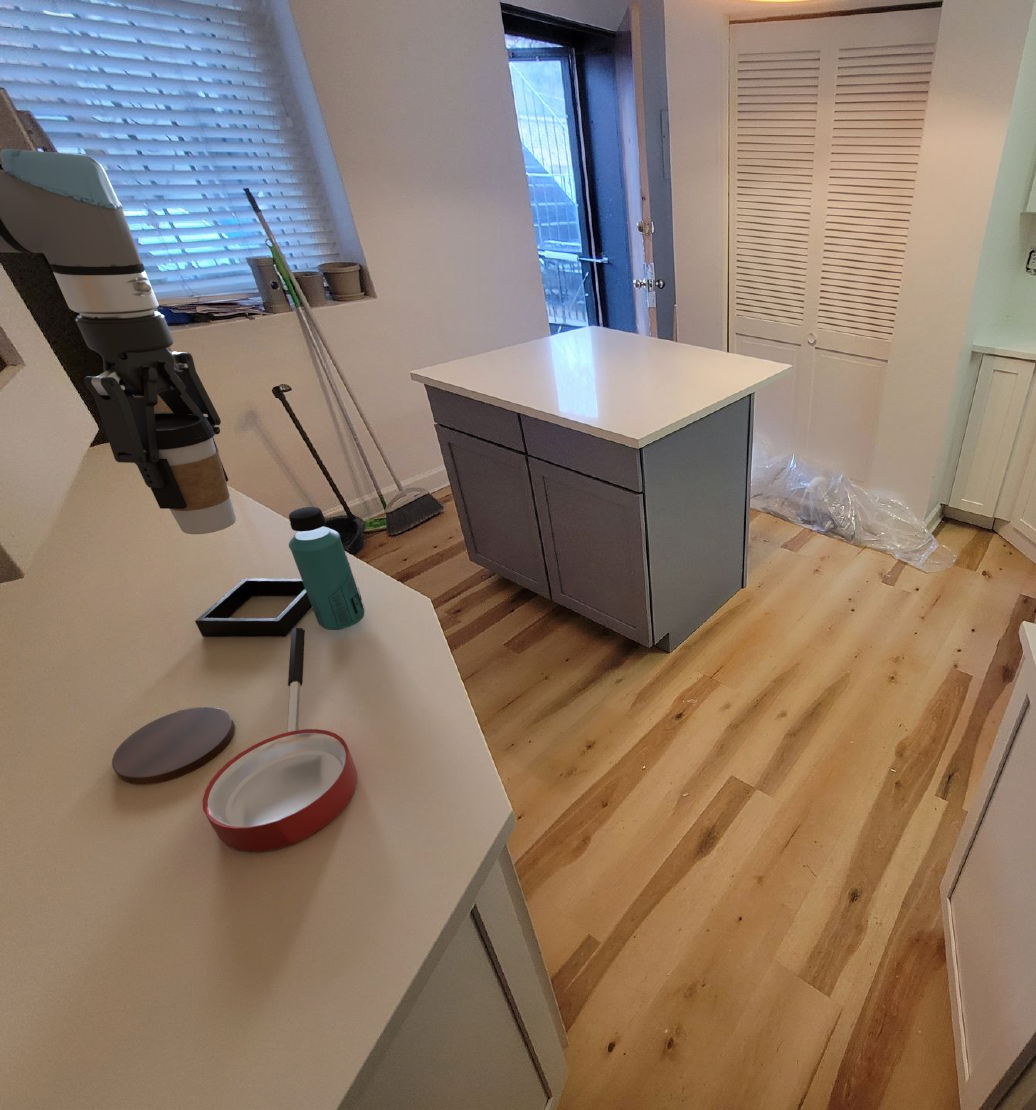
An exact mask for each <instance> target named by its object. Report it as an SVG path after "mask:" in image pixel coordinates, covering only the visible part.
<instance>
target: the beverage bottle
mask: <svg viewBox="0 0 1036 1110" xmlns="http://www.w3.org/2000/svg"><path fill="white" fill-rule="evenodd" d="M288 519H289V523H290V529H291V530H293V531H294V532H296V533H295V534H294V535H293V536H292V537H291V539H289V542H288V549H290V551H291V555H292V557H293V559H294V563H295V565H296V567H297V570H298V572H299V575H300V579H301V580H302V581H303V584H304V587H305V589H304V590H306V593H307V595H308V601H309V600H310V601H309V602H310V603H311V607H312V608H311V609H310V610H312V611H313V616H314V617H315V619H316V622H317V624H318V625H320V627H321V628H323V629H325V630H328V631H336V630H337V631H339V630H343V629H347V628H350V627H352V626H354V625H357V624H358V623H360V621H362V620H363V619H364V617H365V609H366V607H365V605H364V603H363V599H362V595H361V592H360V588H359V587H358V585H357V584H358V583H357V581H356V578H355V576H354V574H353V571H352V568H351V564H350V561H349V559H348V555H347V553H346V550H345V548H344V545H343V542H342V540H341V534H340V533H339V532H338V531H336V530H335V529H333V528H330V527H327V526H325V525H326V524H327V520H326V517H325V515H324V514H323V510H322V509H321V508H320V507H316V506H305V507H299V508H297V509H295V510H292V511H291V512H290V513H289V514H288ZM302 581H301V582H302Z"/></svg>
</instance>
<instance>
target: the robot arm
mask: <svg viewBox="0 0 1036 1110" xmlns="http://www.w3.org/2000/svg"><path fill="white" fill-rule="evenodd" d="M0 161H1V163H2V164H1V168H2V169H0V253H19V254H20V253H21V254H23V253H24V254H43V256H44V257H45V258H46V260H47V262H48V264H49V266H50V269H51V271H52V273H53V275H54V277H55V280H56V282H57V284H58V286H59V289H60V291H61V293H62V295H63V297H64V300H65V302H66V304H67V306H68V309H69V310H71V311H73V312H74V313H79V314H78V315H77V316H76V318H75V319H74V320H75V323H76V325H77V327H78V329H79V332H80V333H81V336H82V338H83V340H84V342H85V344H86V346H87V347H88V349H90V350H92V352H93V351H94V352H95V353H97V354H99V355H100V357H101V360H102V361H103V362H102V363H103V372H102V373H100V374H99V375H97V376H85V377H84V378H83V383H84V385H85V386H86V388H87V389H88V391H89V392H90V394H91V395H92V397H93V398H94V401H95V404H96V407H97V411H98V413H99V416H100V419H101V422H102V425H103V428H104V431H105V434H106V437H107V440H108V443H109V446H110V449H111V452H112V455H113V458H114V460H115V462H117V463H120V464H121V463H123V464H124V463H125V464H135V466H136V467H137V468H138V470H139V473H140V475H141V477H142V479H143V481H144V484H145V485H146V486H147V488H150V490H151V492H152V494H153V497H154V498H155V501H156V503H157V505H158V507H159V509H163V510H164V509H165V510H167V509H168V510H170V509H184V508H186V507H187V504H186V502H185V500H184V497H183V495H182V493H181V491H180V488H179V486H178V484H177V481H176V479H175V477H174V475H173V472H172V470H171V468H170V466H169V463H168V461H167V459H159V450H158V441H157V433H156V422H155V413H156V412H155V406H156V405H158V403H159V400H158V396H159V397H160V399H161V400H162V401H163V402H164V404H165V405H166V406H167V407H168V409H169V410H170V412H173V413H182V414H199V415H203V416H204V417H205V418H206V419H207V421H208V423H209V424H210V426H212V427H213V431H214V432H215V435H219V434H220V433H221V429H220V425H221V423H222V422H221V421H222V420H221V418H220V416H219V414H218V411H217V410H216V408H215V405H214V404H213V402H212V399H211V398H210V396H209V394H208V392H207V390H206V388H205V386H204V384H203V382H202V380H201V378H200V376H199V374H198V373H197V370H196V366H195V362H194V357H193V355H192V353H190V352H183V351H182V352H177V351H170V349H168V348H170V347H172V346H173V344H174V338H173V335H172V333H171V331H170V328H169V326H168V323H167V320H166V318H165V315H164V314H161V312H159V311H155V310H157V308H158V307H159V306H160V304H159V301H158V298H157V297H156V294H155V292H154V290H153V289H154V288H153V287H152V284H151V282H150V279H149V277H148V274H147V272H146V268H145V266H144V263H143V261H142V258H141V256H140V253H139V250H138V248H137V245H136V242H135V239H134V237H133V234H132V232H131V229H130V225H129V223H128V221H127V218H126V216H125V213H124V210H123V209H124V207H123V205H122V203H121V202H120V201H119V199H118V197H117V194H116V192H115V190H114V188H113V185H112V183H111V181H110V179H109V177H108V174H107V172H106V169H104V167H103V165H102V164H101V163H100V162H98V160H96V159H95V158H93V157H91V156H89V155H86V154H83V153H82V154H81V153H69V152H68V153H67V152H53V151H41V150H27V149H15V148H14V149H12V148H3V149H2V150H1V151H0ZM212 438H213V441H214V445H215V448H217V449H218V452H219V453H220V451H219V447H218V446H217V443H216V440H215V438H214V436H213V437H212ZM143 449H144V450H145V451H146V452H144V450H143ZM221 464H222V468H223V472H224V475H225V479H226V483H227V482H229V477H228V475H227V472H226V470H225V467H224V465H223V462H222V461H221Z"/></svg>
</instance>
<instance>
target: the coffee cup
mask: <svg viewBox="0 0 1036 1110" xmlns="http://www.w3.org/2000/svg"><path fill="white" fill-rule="evenodd" d="M154 413H155V422H156V433H157V441H158V450H159V459H167V461H168V463H169V466H170V468H171V470H172V472H173V475H174V477H175V479H176V481H177V484H178V486H179V488H180V491H181V493H182V495H183V497H184V500H185V502H186V504H187V507H186V508H184V509H169V511H170V512H171V514H172V516H173V517H174V520H175V521H176V523H177V525H178V526H179V528H180V530H181V531H182V532H183V533H185V534H187V535H207V534H211V533H215V532H219V531H222V530H225V529H228V528H229V527H231V526H233V525H234V524H235V523H236V521H237V518H236V517H237V516H236V514H235V509H234V506H233V503H232V499H231V495H230V492H229V488H228V484H227V482H226V479H225V475H224V472H223V468H222V465H223V463H222V464H221V462H222V460H221V457H220V451H219V448H218V447H217V448H218V449H217V448H215V445H214V441H215V440H214V441H213V438H214V436H215V435H216V434H215V432H214V431H213V427H212V426H210V424H209V423H208V421H207V419H206V418H205V417H204V416H205V415H204V414H203V415H204V416H203V415H199V414H182V413H173V412H172V411H158V412H154ZM212 437H213V438H212ZM143 450H144V449H143ZM218 451H219V452H218ZM144 452H146V451H145V450H144Z"/></svg>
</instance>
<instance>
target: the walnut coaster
mask: <svg viewBox="0 0 1036 1110" xmlns="http://www.w3.org/2000/svg"><path fill="white" fill-rule="evenodd" d="M235 730H236V727H235V722H234V720H233V718H232V717H231V715H230V714H229V713H228V712H227V711H225V710H224V709H221V708H218V707H213V706H199V707H190V708H187V709H181V710H177V711H175V712H171V713H169V714H166V715H164V716H162V717H159V718H157V719H155V720H153V721H151V722H149V723H147V724H145V725H143V726H141V727H140V728H139V729H138V730H136V731H135V732H133V733H131V735H129V736H128V737H126V738H125V740H124V741H123V742H121V744H120V745H119V746H118V747H117V749H115V752H114V754H113V756H112V760H111V766H112V769H113V771H114V772H115V774H116V775H117V777H118V778H119V779H120V780H122V781H123V782H125V783H129V784H130V785H131V784H133V785H152V784H159V783H164V782H168V781H171V780H174V779H177V778H180V777H182V776H185V775H187V774H189V773H192V772H194V771H196V770H197V769H199V768H202V767H203V766H204V765H206V764H207V763H209V762H211V761H212V760H213V759H214V758H216V757H217V756H218V755H220V754H221V753H222V752H223V751H224V750H225V749H226V748H227V746H228V745H229V744H230V743H231V741H232V739H233V737H234V734H235Z"/></svg>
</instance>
